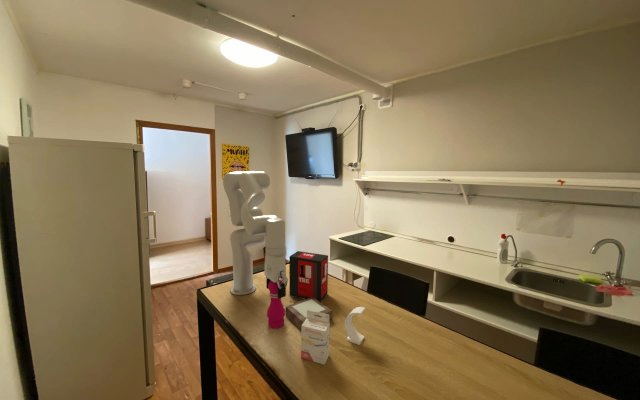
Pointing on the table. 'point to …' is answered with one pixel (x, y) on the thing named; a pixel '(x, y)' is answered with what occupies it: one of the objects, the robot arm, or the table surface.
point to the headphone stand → (350, 330)
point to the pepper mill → (275, 307)
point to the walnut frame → (299, 310)
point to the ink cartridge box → (315, 337)
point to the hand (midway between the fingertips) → (275, 292)
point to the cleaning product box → (308, 275)
